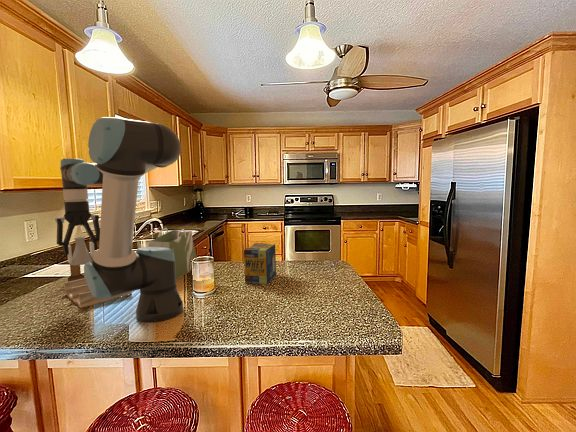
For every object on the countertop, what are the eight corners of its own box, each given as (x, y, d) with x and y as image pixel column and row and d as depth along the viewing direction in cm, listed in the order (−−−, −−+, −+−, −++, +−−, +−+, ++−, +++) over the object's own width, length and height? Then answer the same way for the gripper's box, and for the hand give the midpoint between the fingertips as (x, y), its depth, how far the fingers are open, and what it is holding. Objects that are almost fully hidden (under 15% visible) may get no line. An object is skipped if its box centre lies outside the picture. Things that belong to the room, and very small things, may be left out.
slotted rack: (131, 294, 126) (130, 281, 126) (80, 307, 113) (79, 294, 112) (112, 283, 141) (111, 272, 140) (65, 294, 128) (64, 282, 127)
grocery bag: (174, 282, 140) (170, 233, 137) (145, 282, 141) (141, 233, 139) (199, 264, 172) (197, 223, 169) (176, 264, 173) (173, 224, 170)
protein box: (244, 283, 136) (243, 249, 134) (256, 273, 151) (255, 242, 149) (267, 285, 133) (265, 250, 132) (276, 274, 148) (275, 243, 146)
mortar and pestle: (82, 282, 144) (79, 245, 142) (66, 284, 141) (62, 246, 139) (86, 278, 150) (82, 242, 148) (70, 280, 147) (66, 243, 146)
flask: (82, 266, 113) (79, 239, 111) (65, 265, 114) (63, 239, 113) (97, 261, 120) (95, 236, 118) (81, 260, 121) (79, 235, 120)
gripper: (102, 199, 124) (106, 254, 126) (40, 201, 109) (47, 264, 112) (108, 199, 119) (113, 257, 122) (45, 202, 104) (52, 268, 107)
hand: (81, 260), depth 117 cm, fingers closed on flask, 7 cm apart
